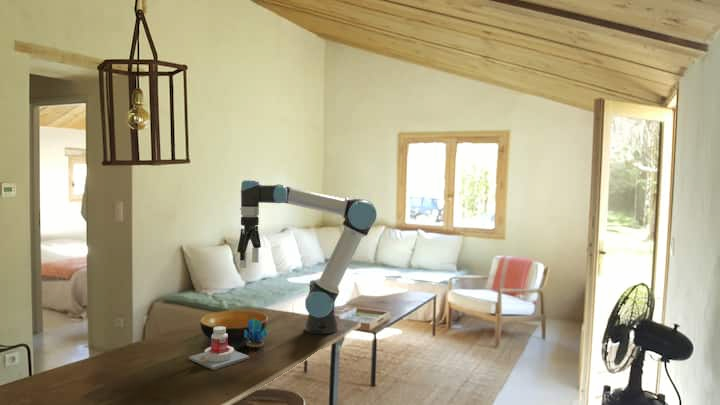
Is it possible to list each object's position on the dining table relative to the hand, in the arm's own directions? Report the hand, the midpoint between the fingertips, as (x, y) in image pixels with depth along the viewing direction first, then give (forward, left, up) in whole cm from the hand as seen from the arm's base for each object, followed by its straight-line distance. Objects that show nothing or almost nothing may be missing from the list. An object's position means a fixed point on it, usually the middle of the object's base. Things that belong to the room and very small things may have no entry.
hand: (249, 265), depth 223 cm
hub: (+24, +13, -32) cm, 42 cm away
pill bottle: (+24, +13, -31) cm, 41 cm away
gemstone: (+4, +10, -32) cm, 34 cm away
